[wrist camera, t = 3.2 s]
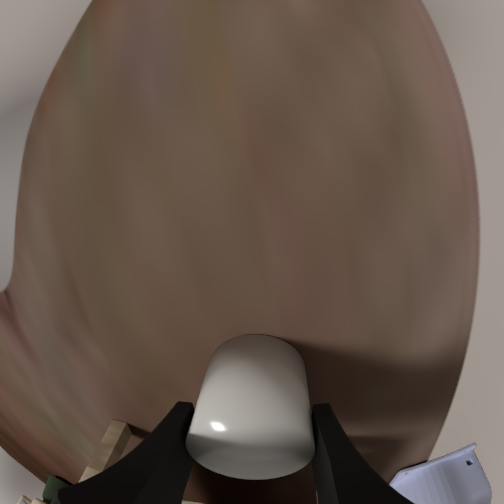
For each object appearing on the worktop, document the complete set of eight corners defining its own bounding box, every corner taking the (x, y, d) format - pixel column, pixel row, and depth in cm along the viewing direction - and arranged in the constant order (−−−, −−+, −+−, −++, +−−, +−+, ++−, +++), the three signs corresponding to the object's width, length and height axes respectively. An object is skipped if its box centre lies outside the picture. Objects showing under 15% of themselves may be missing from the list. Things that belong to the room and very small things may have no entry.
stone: (307, 332, 12) (322, 415, 7) (302, 403, 14) (308, 478, 9) (202, 333, 13) (172, 412, 8) (215, 402, 14) (198, 475, 9)
